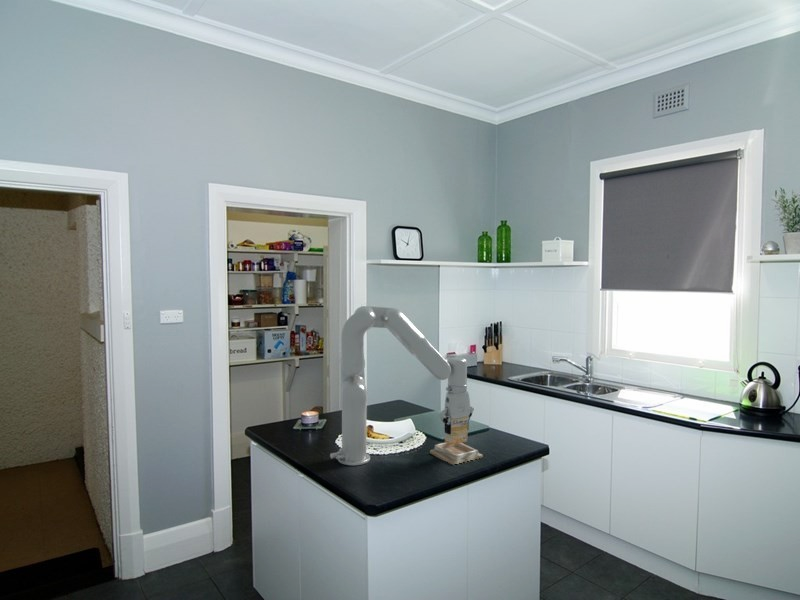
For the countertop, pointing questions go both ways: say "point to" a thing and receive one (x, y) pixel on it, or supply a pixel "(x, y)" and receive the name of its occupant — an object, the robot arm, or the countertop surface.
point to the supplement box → (457, 430)
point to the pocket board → (455, 453)
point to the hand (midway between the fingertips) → (456, 431)
